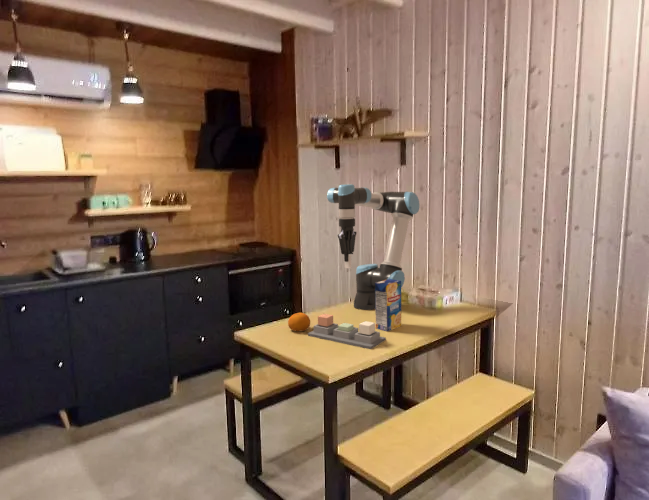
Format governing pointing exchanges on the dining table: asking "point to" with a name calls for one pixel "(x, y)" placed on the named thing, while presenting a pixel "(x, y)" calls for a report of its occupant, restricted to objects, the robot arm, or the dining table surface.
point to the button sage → (346, 327)
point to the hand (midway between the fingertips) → (347, 267)
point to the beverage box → (388, 304)
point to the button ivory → (366, 328)
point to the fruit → (299, 322)
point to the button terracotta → (325, 320)
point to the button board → (347, 336)
